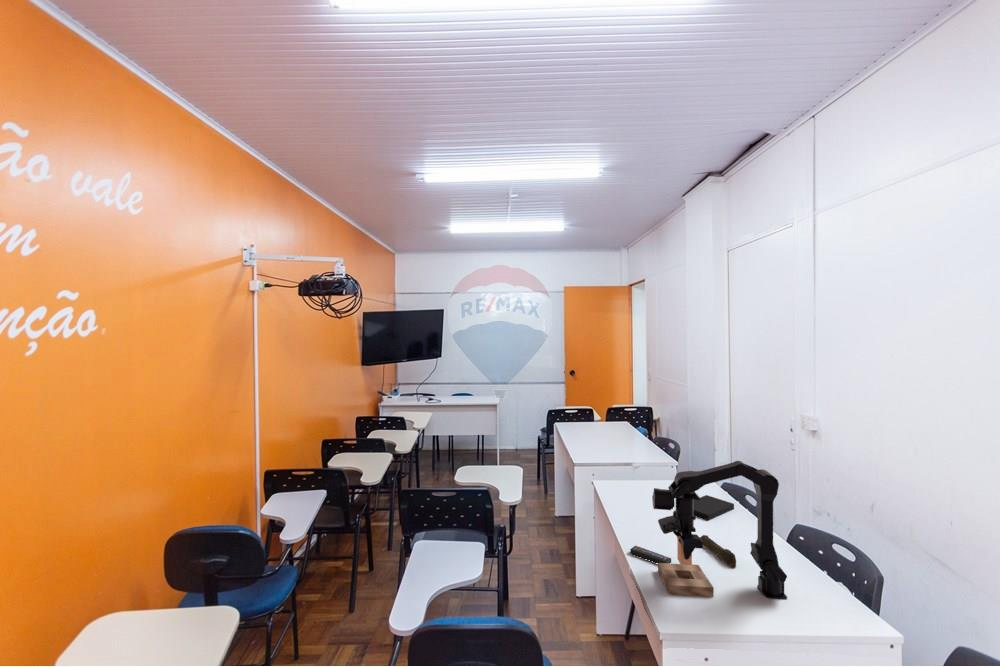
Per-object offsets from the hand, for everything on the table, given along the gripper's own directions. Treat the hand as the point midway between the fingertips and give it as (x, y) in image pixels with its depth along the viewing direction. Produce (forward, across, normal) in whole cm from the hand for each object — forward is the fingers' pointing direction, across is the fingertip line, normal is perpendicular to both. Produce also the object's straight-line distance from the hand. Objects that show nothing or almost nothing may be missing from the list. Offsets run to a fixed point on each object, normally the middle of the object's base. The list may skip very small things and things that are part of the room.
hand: (684, 556), depth 151 cm
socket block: (+9, 0, 0) cm, 9 cm away
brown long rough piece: (+10, -21, +20) cm, 31 cm away
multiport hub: (+10, -16, -8) cm, 20 cm away
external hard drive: (+10, -66, +31) cm, 73 cm away
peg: (+2, 0, 0) cm, 2 cm away
